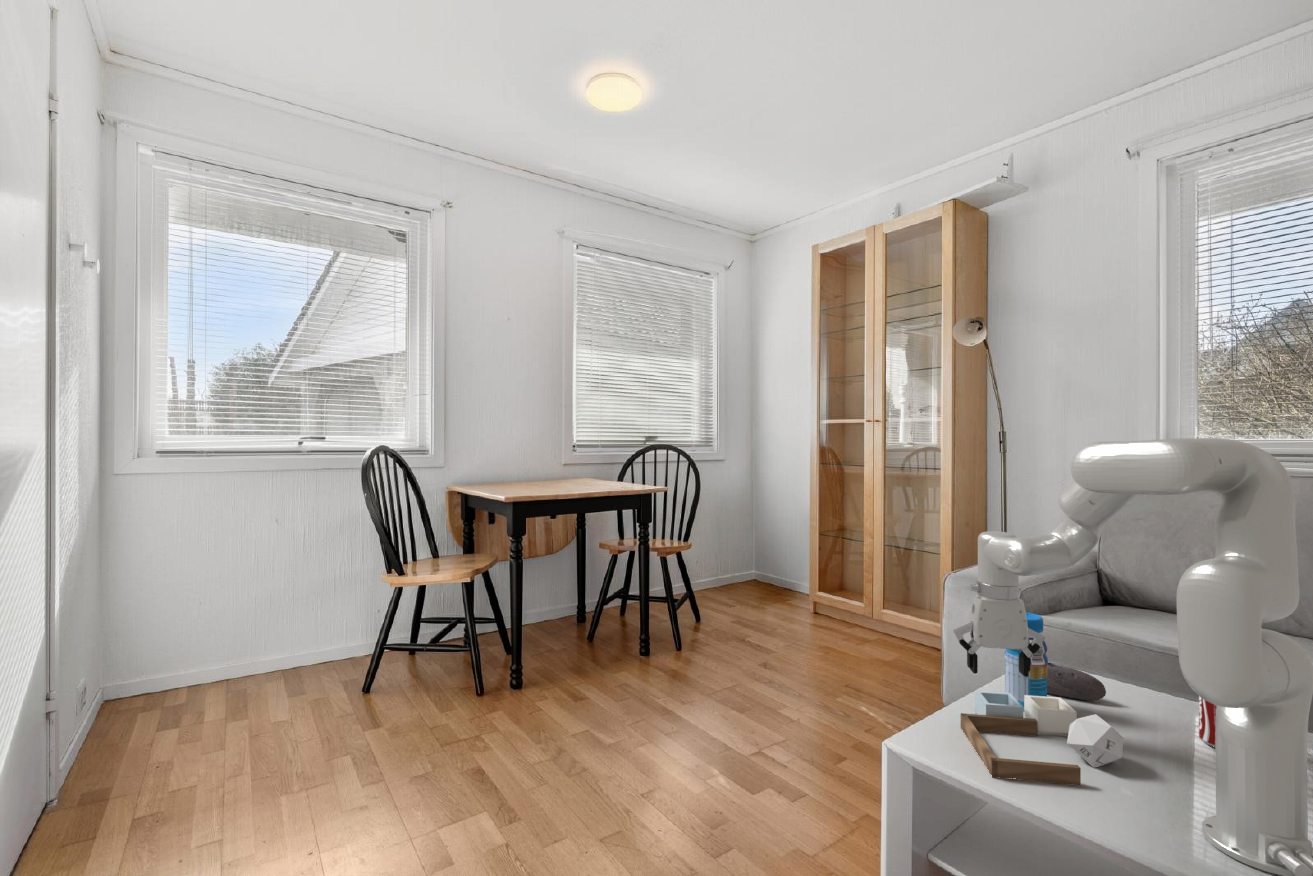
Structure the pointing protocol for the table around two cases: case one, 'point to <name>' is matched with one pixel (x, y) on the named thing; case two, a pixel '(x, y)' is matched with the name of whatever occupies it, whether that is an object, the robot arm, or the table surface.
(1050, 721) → the offwhite cup
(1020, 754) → the table surface
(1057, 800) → the table surface
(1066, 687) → the perforated stone tool
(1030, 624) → the beverage bottle
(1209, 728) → the soda can
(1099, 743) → the die
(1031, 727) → the walnut bay
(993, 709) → the greyblue cup
